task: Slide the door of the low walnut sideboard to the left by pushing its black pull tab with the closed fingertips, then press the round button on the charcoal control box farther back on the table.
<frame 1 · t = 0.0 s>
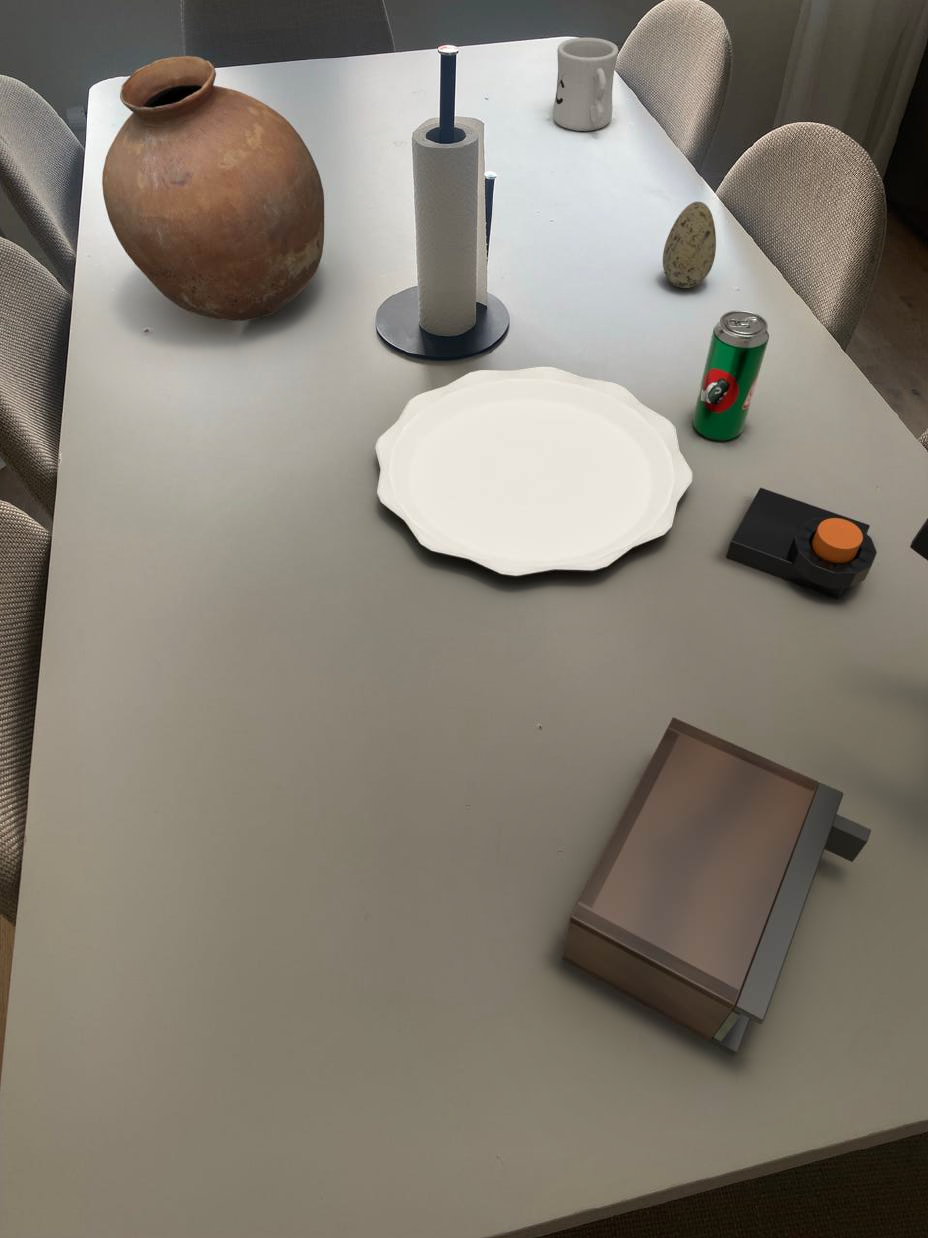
sideboard: (680, 892, 61), on the table
decorative egg: (682, 286, 110), on the table
mug: (585, 125, 140), on the table
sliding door: (822, 873, 58), point 4 cm above the table, slide at 0.0 cm
control box: (794, 550, 81), on the table
plate: (529, 478, 88), on the table
button: (837, 540, 76), point 4 cm above the table, slide at 0.1 cm
soda can: (716, 429, 93), on the table
pottery: (237, 300, 109), on the table
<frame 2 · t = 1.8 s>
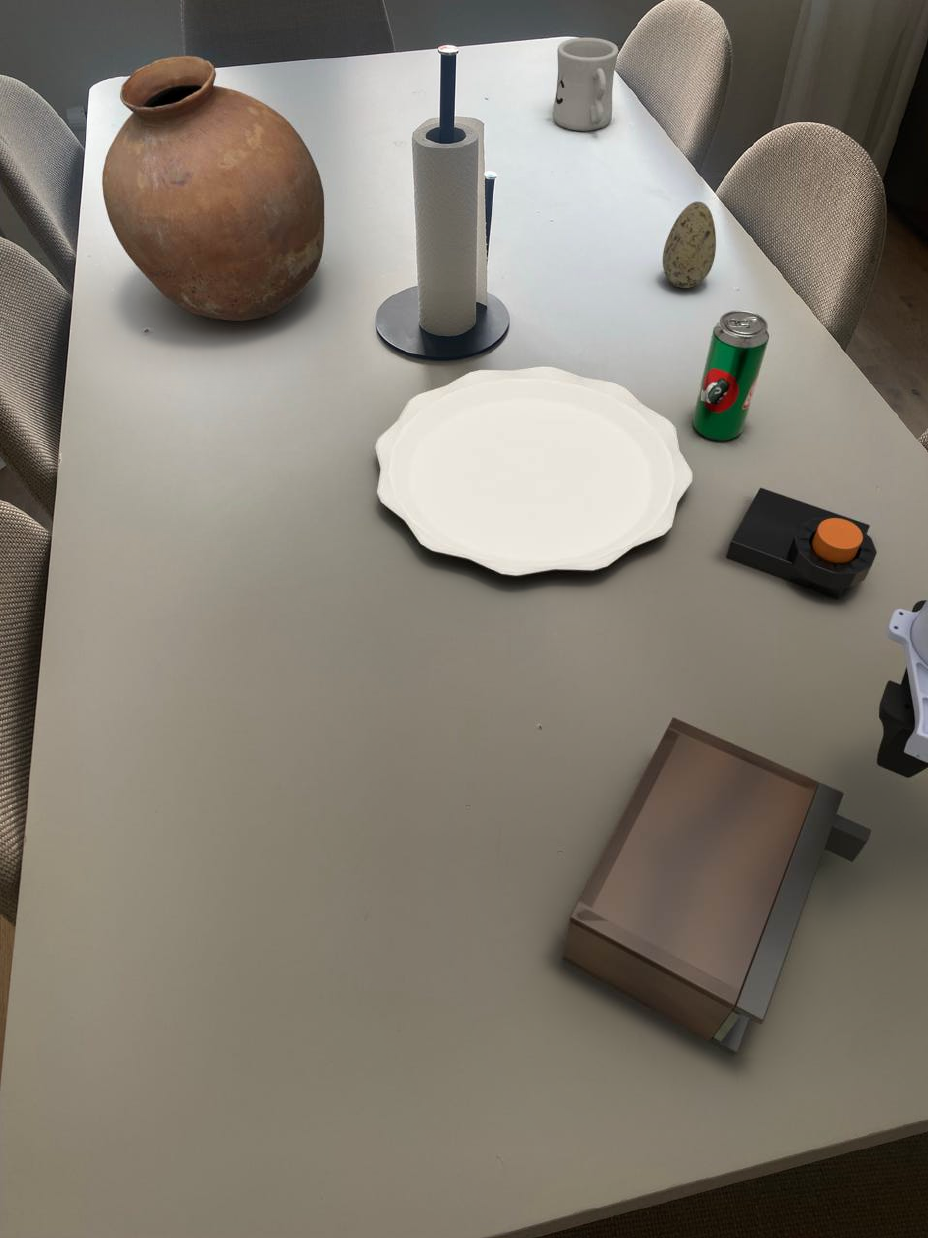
hand: (904, 734, 58), 9 cm above the table, tool pointing down, fingers open, 5 cm apart
nothing on the table moved.
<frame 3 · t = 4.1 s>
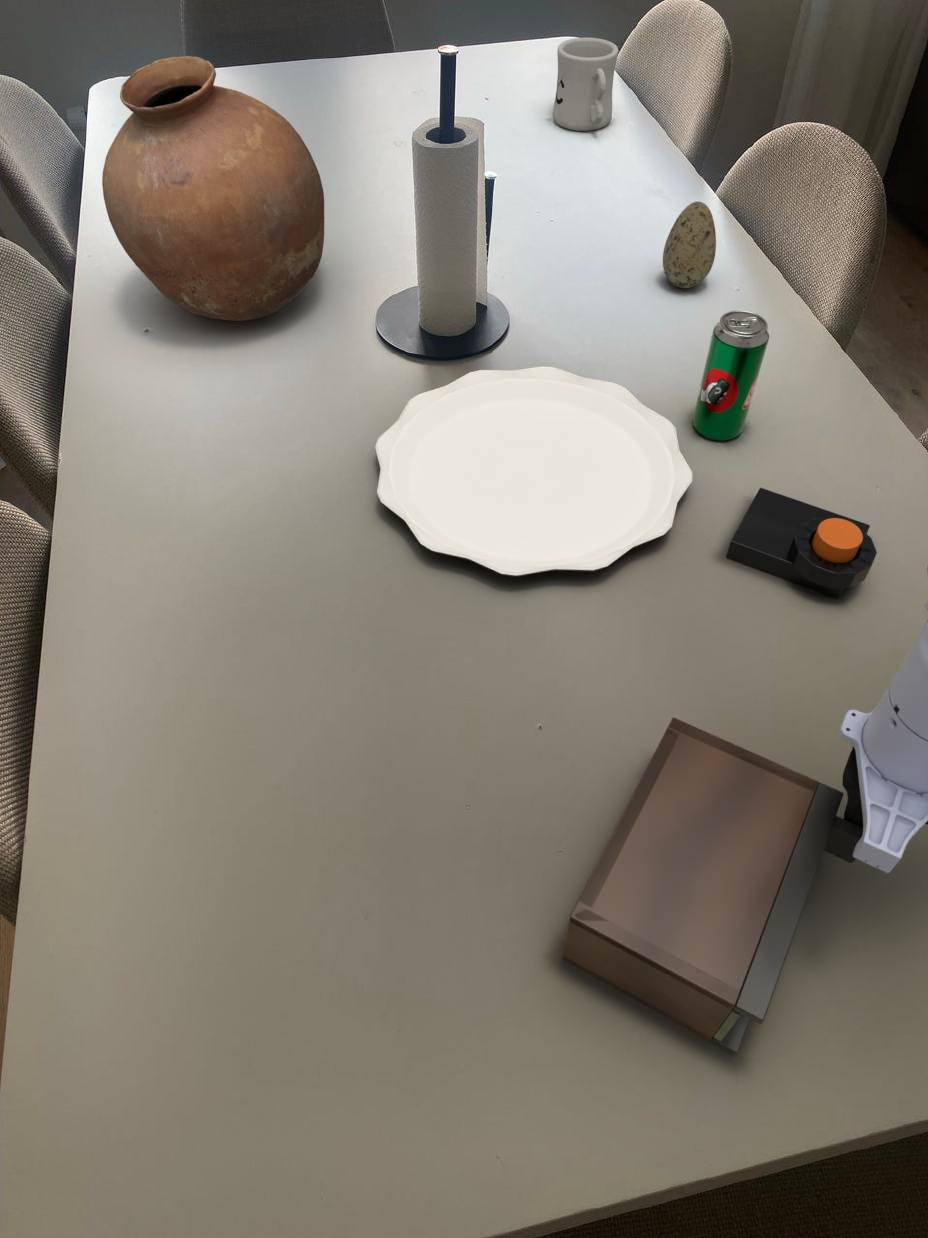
hand: (861, 823, 59), 4 cm above the table, tool pointing down, fingers closed
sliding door: (822, 875, 58), point 4 cm above the table, slide at 0.1 cm, touching gripper
everything else where it was.
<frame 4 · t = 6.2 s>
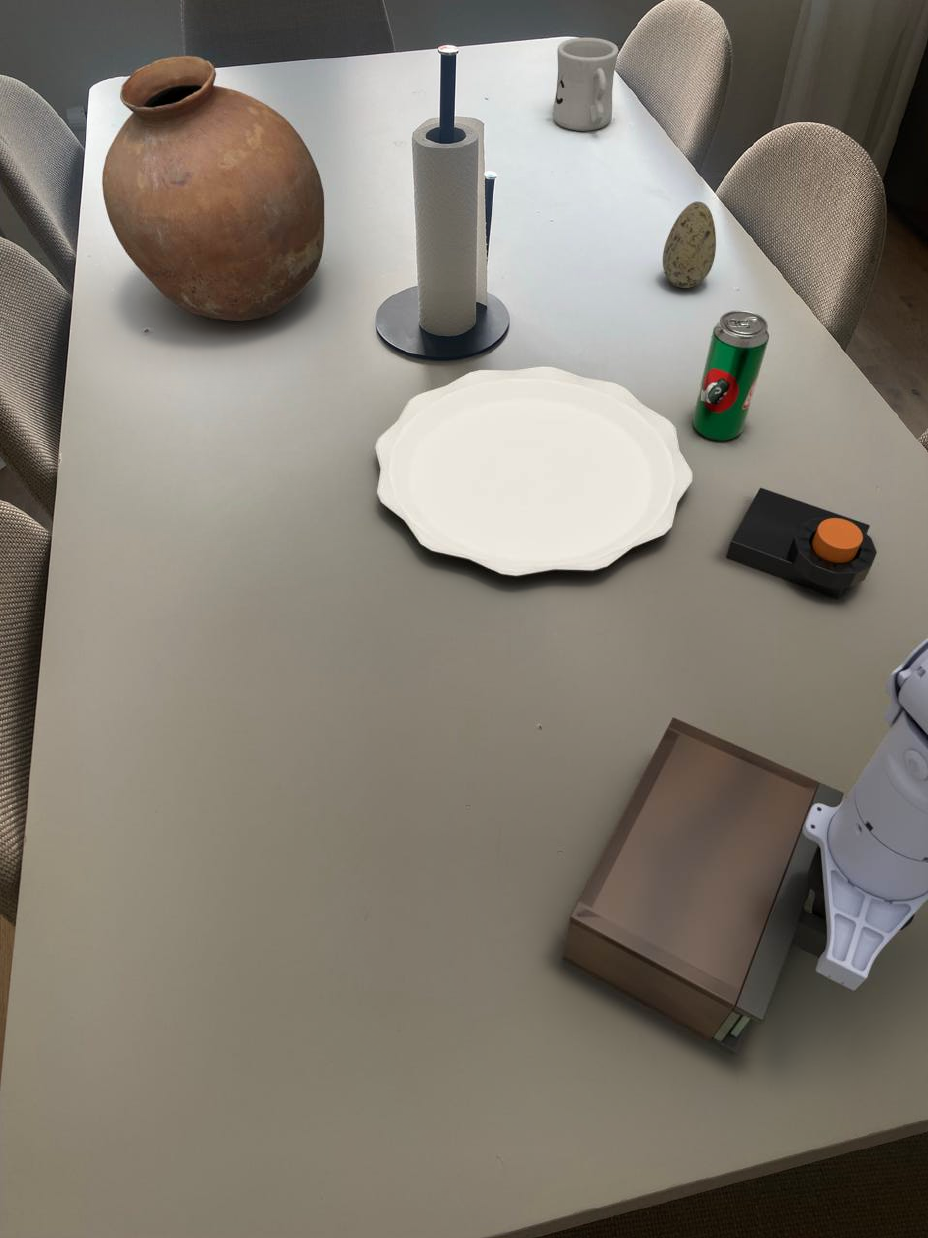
hand: (830, 916, 55), 4 cm above the table, tool pointing down, fingers closed
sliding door: (787, 974, 54), point 4 cm above the table, slide at 7.3 cm, touching gripper
everything else where it was.
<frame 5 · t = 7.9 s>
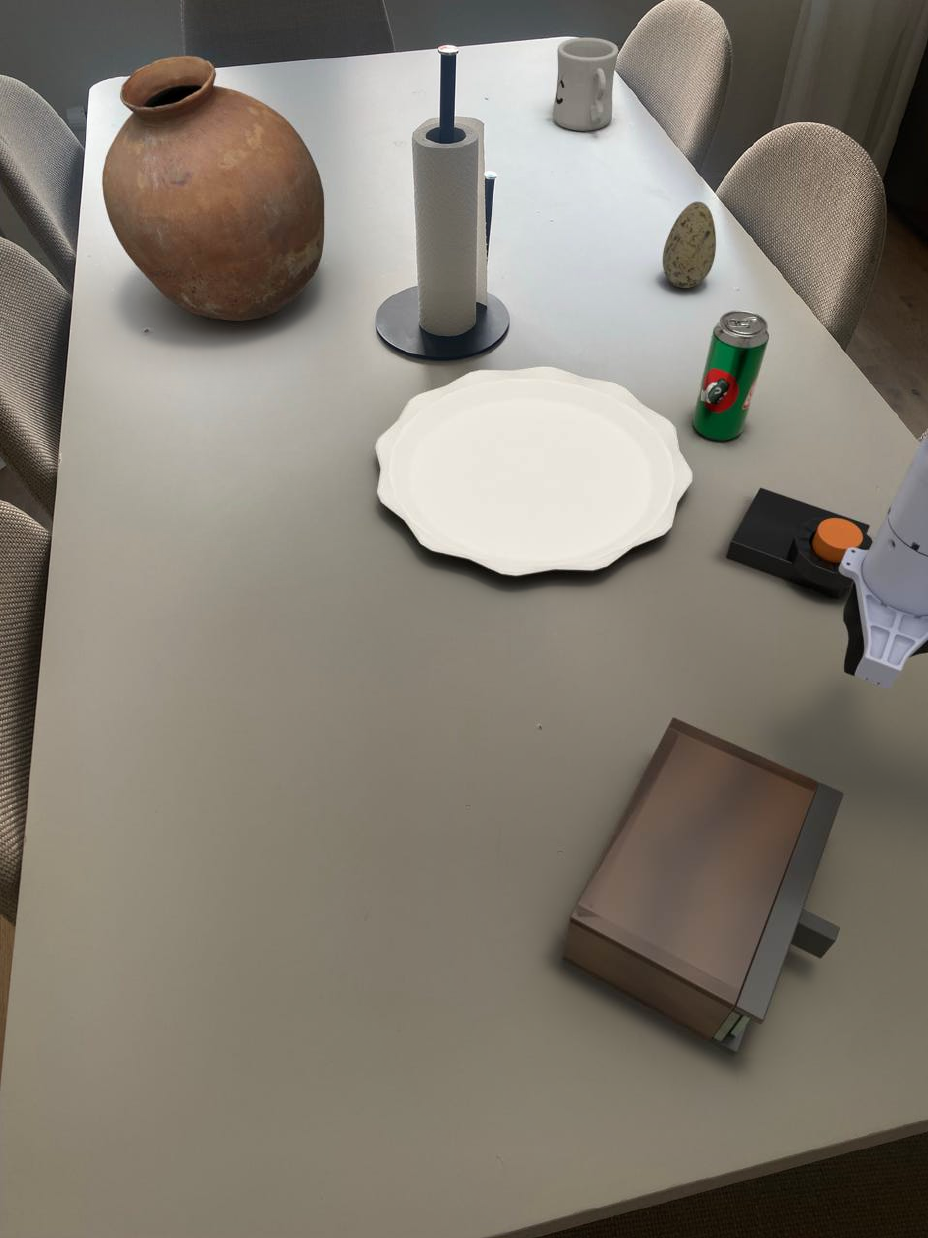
hand: (860, 670, 61), 9 cm above the table, tool pointing down, fingers closed
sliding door: (787, 974, 54), point 4 cm above the table, slide at 7.3 cm
everything else where it was.
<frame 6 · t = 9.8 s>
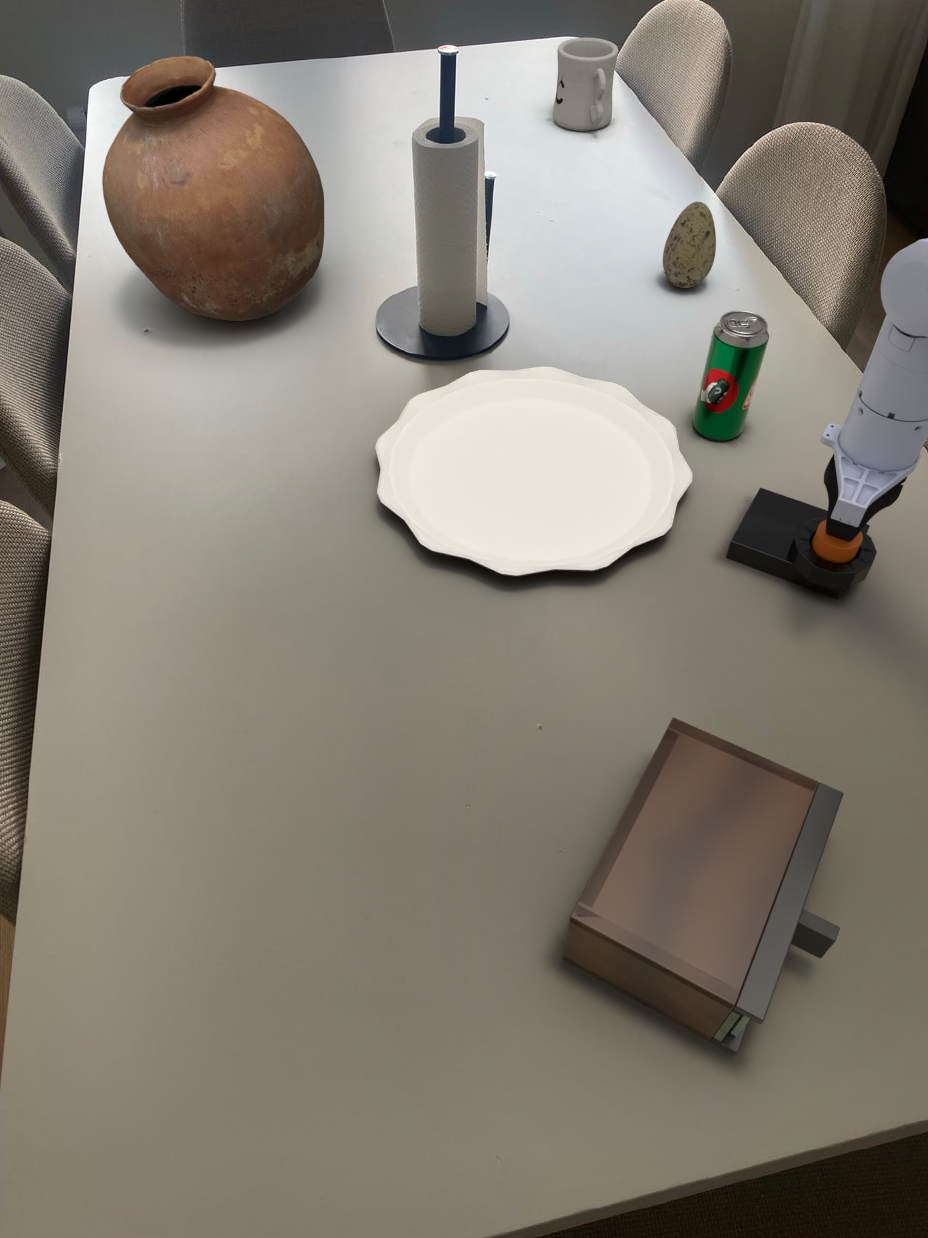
hand: (839, 533, 75), 5 cm above the table, tool pointing down, fingers closed, pressing on button
button: (837, 540, 76), point 4 cm above the table, slide at 0.1 cm, touching gripper
everything else where it was.
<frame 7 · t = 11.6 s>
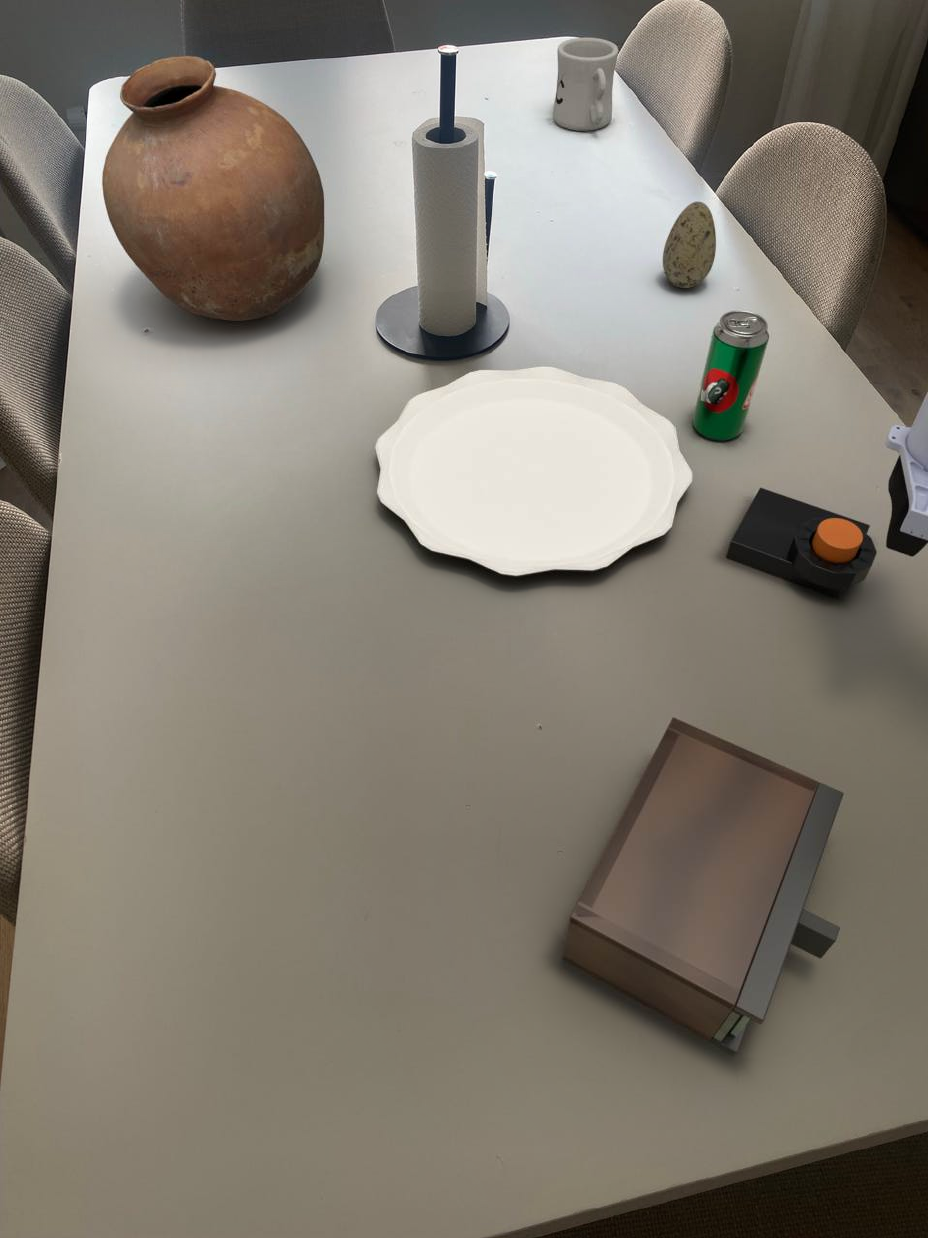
hand: (901, 546, 68), 10 cm above the table, tool pointing down, fingers closed
button: (837, 540, 76), point 5 cm above the table, slide at 0.1 cm
everything else where it was.
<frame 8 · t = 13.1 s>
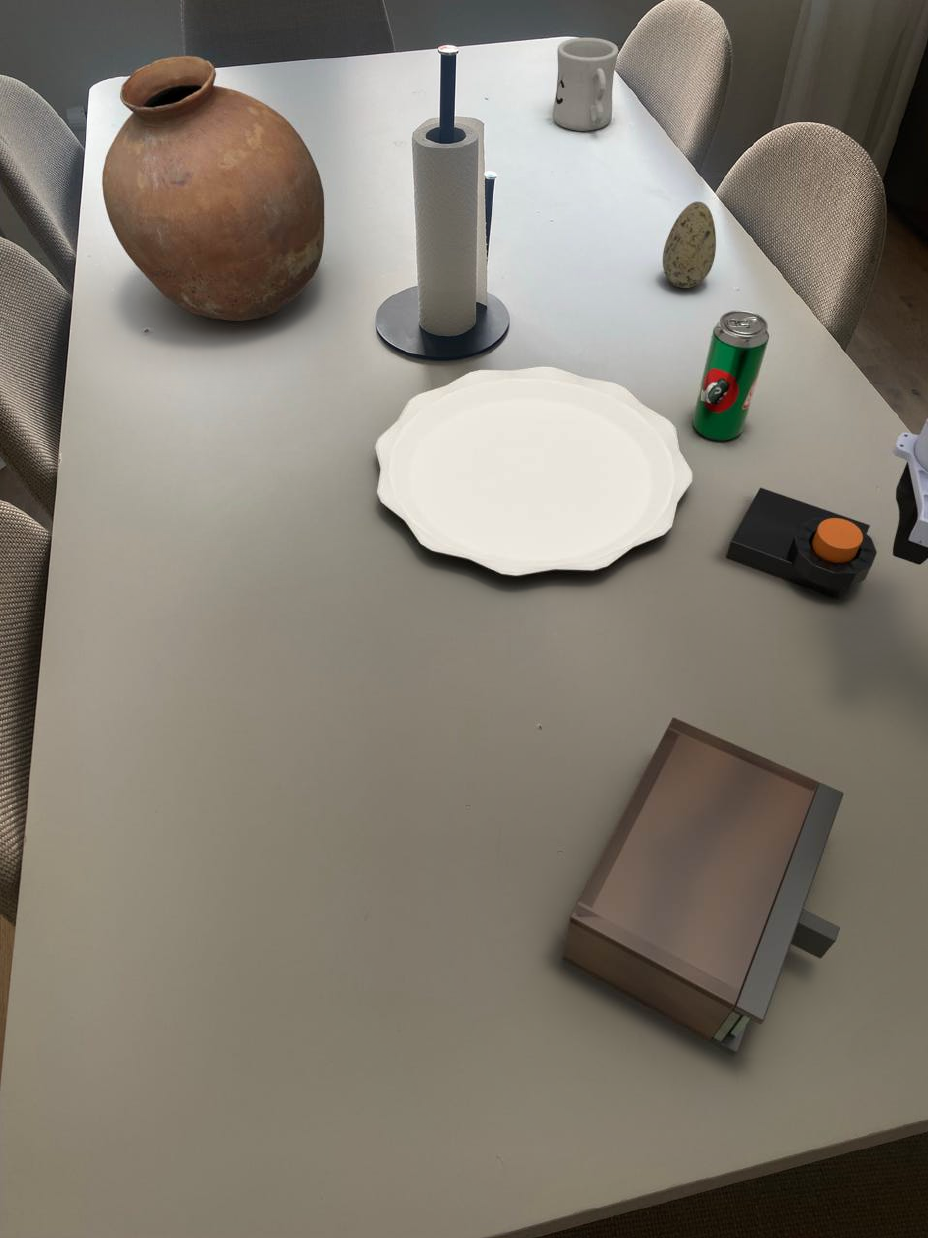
hand: (908, 554, 67), 10 cm above the table, tool pointing down, fingers closed
nothing on the table moved.
at the end: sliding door slide at 7.3 cm; button pushed in 1.2 cm at the most during the clip, back to where it started at the end; button slide at 0.1 cm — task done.
